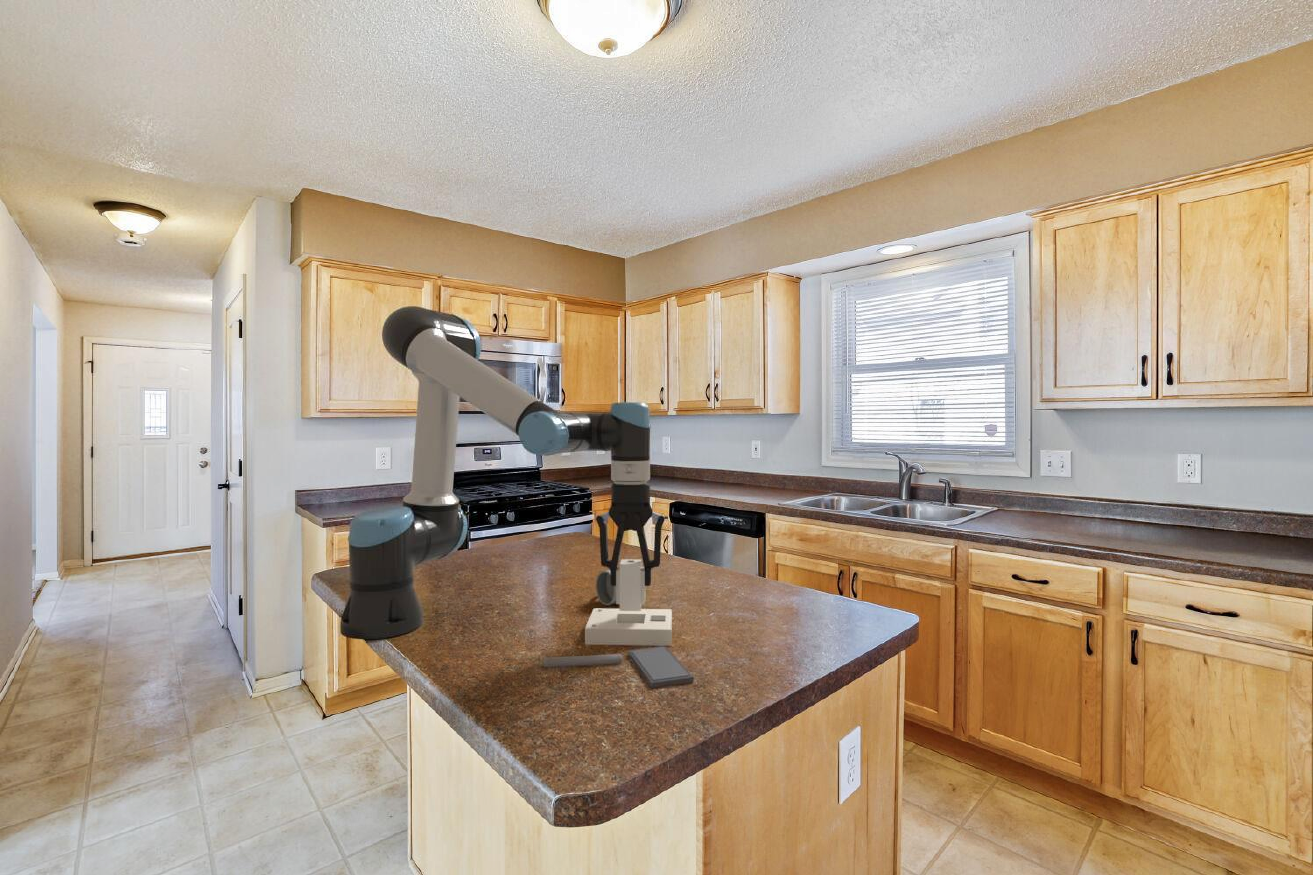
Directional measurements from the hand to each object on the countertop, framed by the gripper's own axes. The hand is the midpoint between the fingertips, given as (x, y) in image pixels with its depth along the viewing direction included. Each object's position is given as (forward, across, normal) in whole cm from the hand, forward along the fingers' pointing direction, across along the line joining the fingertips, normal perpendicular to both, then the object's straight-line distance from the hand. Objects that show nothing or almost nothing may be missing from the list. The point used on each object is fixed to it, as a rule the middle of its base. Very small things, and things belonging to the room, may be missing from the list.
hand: (630, 601), depth 119 cm
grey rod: (+7, -7, -15) cm, 18 cm away
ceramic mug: (+7, -6, +22) cm, 23 cm away
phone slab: (+6, +6, -16) cm, 18 cm away
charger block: (+1, 0, 0) cm, 1 cm away
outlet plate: (+6, 0, 0) cm, 6 cm away
